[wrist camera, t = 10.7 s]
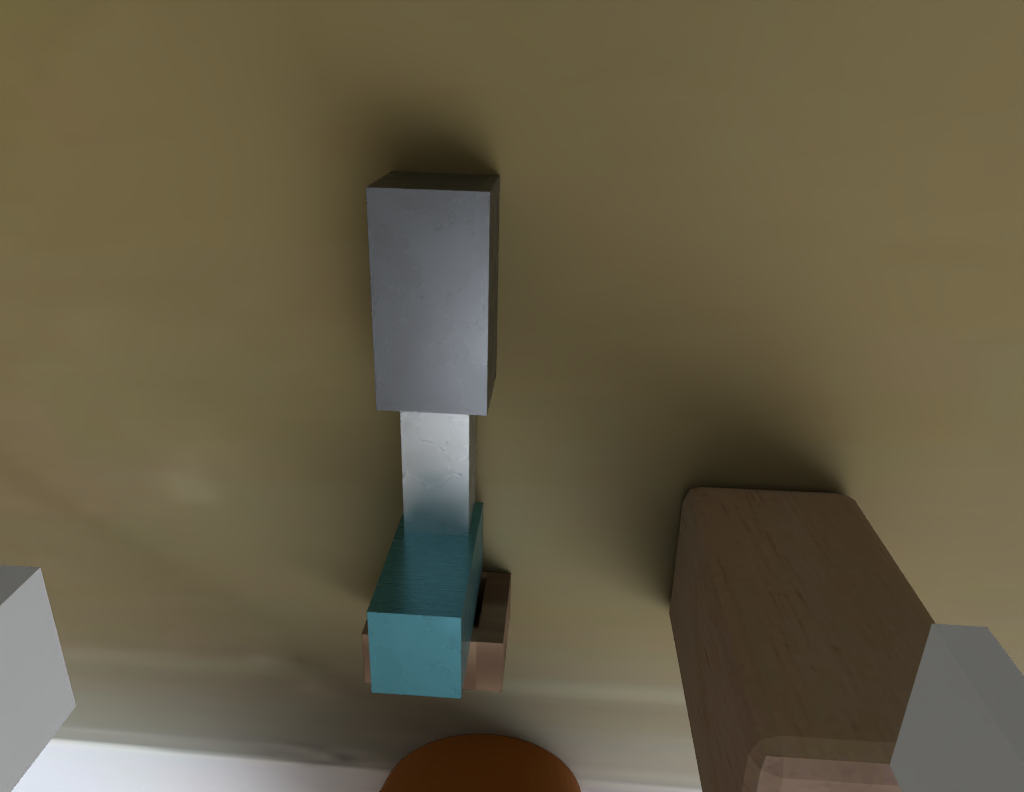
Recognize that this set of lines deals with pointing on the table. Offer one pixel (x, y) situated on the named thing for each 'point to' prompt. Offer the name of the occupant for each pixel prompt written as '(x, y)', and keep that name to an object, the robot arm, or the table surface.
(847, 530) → the wooden block
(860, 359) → the table surface
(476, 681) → the socket
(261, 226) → the table surface
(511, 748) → the flower pot
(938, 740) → the robot arm
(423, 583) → the teal square post
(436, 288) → the grey rectangular block
